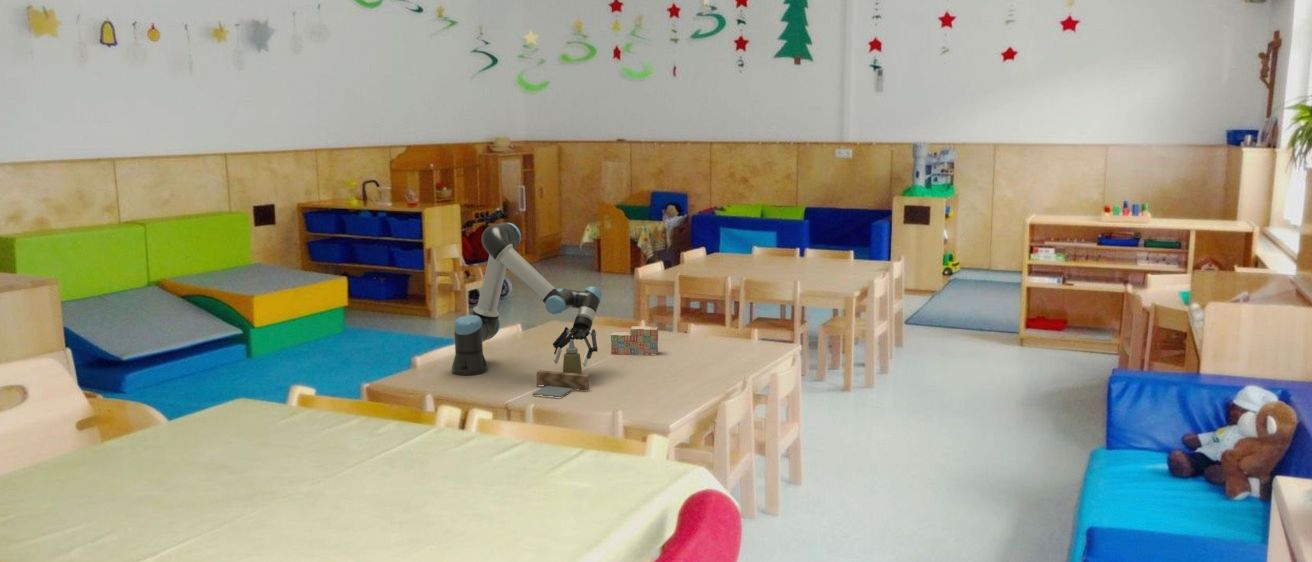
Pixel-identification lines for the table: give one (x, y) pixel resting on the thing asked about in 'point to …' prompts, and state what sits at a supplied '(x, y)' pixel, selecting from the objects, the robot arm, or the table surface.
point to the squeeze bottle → (572, 360)
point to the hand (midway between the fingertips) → (569, 363)
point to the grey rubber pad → (553, 391)
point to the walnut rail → (563, 379)
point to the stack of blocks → (635, 341)
